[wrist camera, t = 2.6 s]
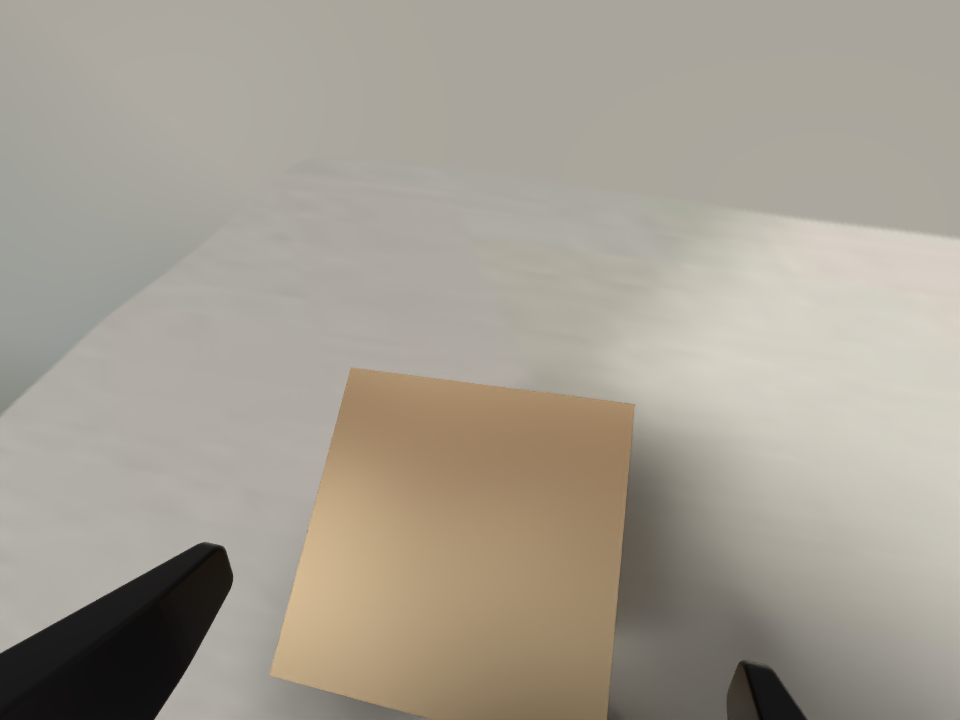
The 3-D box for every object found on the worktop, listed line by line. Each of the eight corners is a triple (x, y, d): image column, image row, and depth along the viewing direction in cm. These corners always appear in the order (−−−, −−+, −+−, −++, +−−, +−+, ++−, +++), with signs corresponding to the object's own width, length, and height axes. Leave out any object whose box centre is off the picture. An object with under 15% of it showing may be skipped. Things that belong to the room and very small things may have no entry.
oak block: (581, 635, 16) (602, 765, 7) (430, 602, 17) (269, 675, 8) (598, 475, 18) (634, 405, 8) (458, 453, 19) (350, 367, 9)
